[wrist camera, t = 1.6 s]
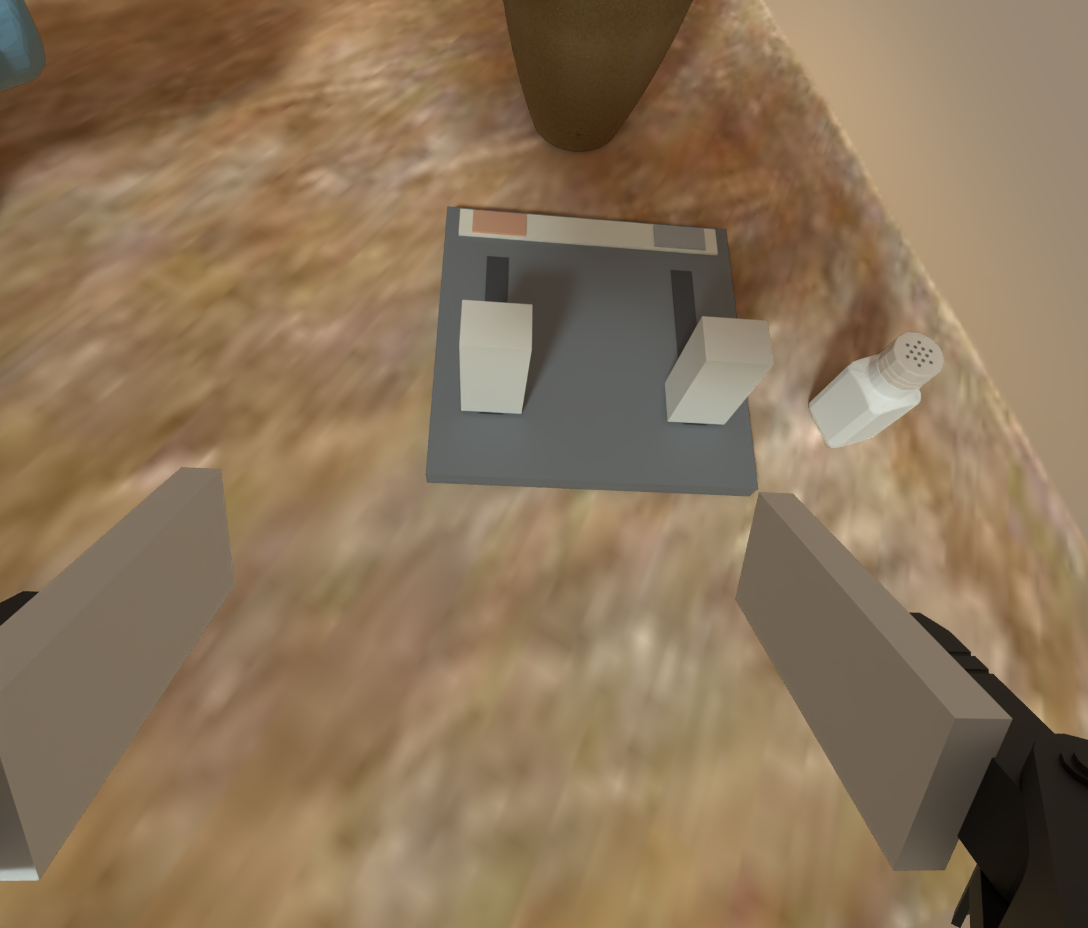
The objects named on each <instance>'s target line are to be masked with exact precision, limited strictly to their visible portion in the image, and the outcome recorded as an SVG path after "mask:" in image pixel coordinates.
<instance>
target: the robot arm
mask: <svg viewBox="0 0 1088 928" xmlns="http://www.w3.org/2000/svg"><path fill="white" fill-rule="evenodd" d="M44 66H45V51H44V47H43V44H42V41H41V38H40V36H39V33H38V31H37V28H36V26H35V24H34V21H33V19H32V17H31V15H30V12H29V10H28V8H27V6H26V4H25V2H24V0H0V92H1V91H4V90H7V89H10V88H13V87H16V86H19V85H22V84H24V83H27V82H30V81H33V80H34V79H36V78H37V77H38V76H39V75H40V74H41V73H42V71H43V69H44ZM234 586H235V582H234V573H233V565H232V557H231V548H230V540H229V532H228V523H227V515H226V507H225V498H224V490H223V481H222V473H221V469H209V468H185V467H181V468H180V469H179V470H178V471H177V472H176V473H174V474H173V475H172V476H171V477H170V478H169V479H168V480H166V481H165V482H164V483H163V484H162V485H161V486H160V487H158V488H157V489H156V490H155V491H154V492H153V493H152V494H150V495H149V496H148V497H147V498H146V499H145V500H144V501H142V502H141V503H140V504H139V505H138V506H137V507H136V508H134V509H133V510H132V511H131V512H130V513H129V514H128V515H126V516H125V517H124V518H123V519H122V520H121V521H120V522H118V523H117V524H116V525H115V526H114V527H113V528H112V529H111V530H109V531H108V532H107V533H106V534H105V535H104V536H103V537H101V538H100V539H99V540H98V541H97V542H96V543H95V544H93V545H92V546H91V547H90V548H89V549H88V550H87V551H85V552H84V553H83V554H82V555H81V556H80V557H79V558H77V559H76V560H75V561H74V562H73V563H72V564H71V565H69V566H68V567H67V568H66V569H65V570H64V571H63V572H61V573H60V574H59V575H58V576H57V577H56V578H55V579H53V580H52V581H51V582H50V583H49V584H48V585H47V586H46V587H44V588H43V589H42V590H41V591H40V592H30V591H23V592H21V593H19V594H17V595H15V596H13V597H11V598H9V599H7V600H5V601H3V602H1V603H0V881H9V880H40V878H41V877H42V875H43V874H44V872H45V871H46V869H47V868H48V866H49V865H50V863H51V862H52V860H53V859H54V857H55V856H56V854H57V853H58V851H59V850H60V848H61V847H62V845H63V844H64V842H65V841H66V839H67V837H68V836H69V834H70V833H71V831H72V830H73V828H74V827H75V825H76V824H77V822H78V821H79V819H80V818H81V816H82V815H83V813H84V812H85V810H86V809H87V807H88V806H89V804H90V803H91V801H92V800H93V798H94V797H95V795H96V794H97V792H98V791H99V789H100V788H101V786H102V785H103V783H104V782H105V780H106V779H107V777H108V776H109V774H110V773H111V771H112V770H113V768H114V767H115V765H116V764H117V762H118V761H119V759H120V758H121V756H122V755H123V753H124V752H125V750H126V749H127V747H128V746H129V744H130V743H131V741H132V740H133V738H134V737H135V735H136V734H137V732H138V731H139V729H140V728H141V726H142V725H143V723H144V722H145V720H146V719H147V717H148V715H149V714H150V712H151V711H152V709H153V708H154V706H155V705H156V703H157V702H158V700H159V699H160V697H161V696H162V694H163V693H164V691H165V690H166V688H167V687H168V685H169V684H170V682H171V681H172V679H173V678H174V676H175V675H176V673H177V672H178V670H179V669H180V667H181V666H182V664H183V663H184V661H185V660H186V658H187V657H188V655H189V654H190V652H191V651H192V649H193V648H194V646H195V645H196V643H197V642H198V640H199V639H200V637H201V636H202V634H203V633H204V631H205V630H206V628H207V627H208V625H209V624H210V622H211V621H212V619H213V618H214V616H215V615H216V613H217V612H218V610H219V609H220V607H221V606H222V604H223V603H224V601H225V600H226V598H227V597H228V595H229V593H230V592H231V590H232V589H233V587H234ZM735 600H736V601H737V603H738V605H739V606H740V608H741V610H742V612H743V613H744V615H745V617H746V618H747V620H748V622H749V624H750V625H751V627H752V629H753V630H754V632H755V634H756V636H757V637H758V639H759V641H760V642H761V644H762V646H763V648H764V649H765V651H766V653H767V654H768V656H769V658H770V660H771V661H772V663H773V665H774V666H775V668H776V670H777V672H778V673H779V675H780V677H781V678H782V680H783V682H784V684H785V685H786V687H787V689H788V690H789V692H790V694H791V696H792V697H793V699H794V701H795V702H796V704H797V706H798V708H799V709H800V711H801V713H802V714H803V716H804V718H805V720H806V721H807V723H808V725H809V726H810V728H811V730H812V732H813V733H814V735H815V737H816V738H817V740H818V742H819V744H820V745H821V747H822V749H823V750H824V752H825V754H826V756H827V757H828V759H829V761H830V762H831V764H832V766H833V768H834V769H835V771H836V773H837V774H838V776H839V778H840V780H841V781H842V783H843V785H844V786H845V788H846V790H847V792H848V793H849V795H850V797H851V798H852V800H853V802H854V804H855V805H856V807H857V809H858V811H859V812H860V814H861V816H862V817H863V819H864V821H865V823H866V824H867V826H868V828H869V829H870V831H871V833H872V835H873V836H874V838H875V840H876V841H877V843H878V845H879V847H880V848H881V850H882V852H883V853H884V855H885V857H886V859H887V860H888V862H889V864H890V865H891V867H892V869H893V871H907V870H945V869H946V866H947V864H948V862H949V860H950V858H951V855H952V853H953V851H954V849H955V846H956V844H957V842H958V840H959V839H960V840H961V842H962V843H963V845H964V846H965V847H966V849H967V850H968V852H969V853H970V854H971V856H972V857H973V859H974V860H975V862H976V863H977V865H976V867H975V869H974V871H973V873H972V876H971V878H970V880H969V882H968V884H967V886H966V888H965V890H964V892H963V895H962V897H961V899H960V901H959V903H958V905H957V907H956V909H955V912H954V915H953V919H952V922H951V924H953V925H955V926H957V927H959V928H961V925H962V923H963V921H964V919H965V917H966V915H969V914H970V928H1088V740H1087V739H1083V738H1079V737H1075V736H1071V735H1067V734H1054V733H1053V732H1052V731H1051V730H1050V729H1049V728H1048V727H1047V726H1046V725H1045V724H1044V723H1043V722H1042V721H1041V720H1040V719H1039V718H1038V717H1037V716H1036V715H1035V714H1034V713H1033V712H1032V711H1031V710H1030V709H1029V708H1028V707H1027V706H1026V705H1025V704H1024V703H1023V702H1022V701H1021V700H1020V699H1019V698H1017V697H1016V696H1015V695H1014V694H1013V693H1012V692H1011V691H1010V690H1009V689H1008V688H1007V687H1006V686H1005V685H1004V684H1003V683H1002V682H1001V681H1000V680H999V679H998V678H997V677H996V676H995V675H994V674H989V672H988V670H989V669H988V668H987V667H986V666H985V665H984V664H983V663H982V662H981V661H980V660H978V659H977V658H976V657H975V656H971V652H970V651H969V650H968V649H967V648H966V647H965V646H964V645H963V644H962V643H961V642H960V641H959V640H958V639H957V638H956V637H955V636H954V635H953V634H952V633H951V632H950V631H948V630H947V629H945V628H944V627H942V626H940V625H939V624H937V623H935V622H934V621H932V620H931V619H929V618H927V617H926V616H924V615H923V614H921V613H909V612H908V611H907V610H906V609H905V608H904V607H903V606H902V605H901V604H900V603H899V602H898V601H897V600H896V599H895V598H894V597H893V596H892V595H891V594H890V593H889V592H888V591H887V590H886V589H885V588H884V587H883V586H882V585H881V584H880V583H879V581H878V580H877V579H876V578H875V577H874V576H873V575H872V574H871V573H870V572H869V571H868V570H867V569H866V568H865V567H864V566H863V565H862V564H861V563H860V562H859V561H858V560H857V559H856V558H855V557H854V556H853V555H852V554H851V553H850V552H849V551H848V550H847V549H846V548H845V547H844V546H843V545H842V544H841V543H840V542H839V540H838V539H837V538H836V537H835V536H834V535H833V534H832V533H831V532H830V531H829V530H828V529H827V528H826V527H825V526H824V525H823V524H822V523H821V522H820V521H819V520H818V519H817V518H816V517H815V516H814V515H813V514H812V513H811V512H810V511H809V510H808V509H807V508H806V507H805V506H804V505H803V504H802V503H801V502H800V501H799V499H798V498H797V497H796V496H795V495H794V494H790V493H766V492H759V494H758V499H757V503H756V508H755V512H754V517H753V521H752V526H751V530H750V535H749V539H748V544H747V548H746V553H745V557H744V562H743V566H742V571H741V575H740V580H739V585H738V589H737V594H736V598H735Z"/></svg>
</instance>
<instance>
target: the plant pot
mask: <svg viewBox="0 0 1088 928" xmlns="http://www.w3.org/2000/svg"><path fill="white" fill-rule="evenodd" d="M503 1H504V7H505V13H506V19H507V25H508V30H509V35H510V40H511V45H512V49H513V54H514V58H515V62H516V66H517V70H518V74H519V78H520V82H521V85H522V89H523V92H524V95H525V99H526V102H527V105H528V108H529V111H530V114H531V117H532V120H533V123H534V126H535V128H536V129H537V131H538V133H539V134H540V135H541V136H542V137H543V138H544V139H545V140H547V141H548V142H549V143H551V144H553V145H555V146H557V147H560V148H562V149H566V150H571V151H588V150H593V149H596V148H599V147H601V146H603V145H605V144H606V143H607V142H609V141H610V140H611V139H612V137H613V136H614V135H615V133H616V132H617V131H618V129H619V128H620V127H621V125H622V124H623V123H624V121H625V120H626V119H627V117H628V116H629V114H630V113H631V111H632V110H633V108H634V107H635V105H636V104H637V102H638V101H639V99H640V98H641V96H642V95H643V93H644V91H645V90H646V88H647V86H648V85H649V83H650V81H651V80H652V78H653V76H654V75H655V73H656V71H657V69H658V68H659V66H660V64H661V62H662V60H663V58H664V57H665V55H666V53H667V51H668V49H669V47H670V45H671V44H672V42H673V40H674V38H675V36H676V34H677V32H678V30H679V28H680V26H681V24H682V22H683V20H684V18H685V15H686V13H687V11H688V9H689V7H690V5H691V3H692V1H693V0H503Z"/></svg>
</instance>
